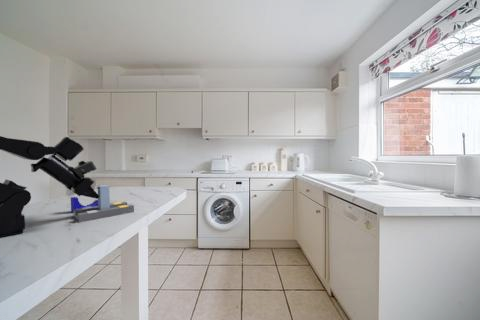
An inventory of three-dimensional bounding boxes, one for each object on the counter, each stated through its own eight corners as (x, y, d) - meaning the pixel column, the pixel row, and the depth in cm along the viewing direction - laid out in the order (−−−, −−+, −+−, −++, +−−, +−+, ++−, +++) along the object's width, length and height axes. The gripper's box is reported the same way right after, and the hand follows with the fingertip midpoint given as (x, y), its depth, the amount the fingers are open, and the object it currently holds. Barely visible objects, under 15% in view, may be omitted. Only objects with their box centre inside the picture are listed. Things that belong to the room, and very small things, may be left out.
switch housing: (79, 222, 75) (79, 214, 75) (73, 216, 82) (73, 209, 82) (134, 211, 88) (133, 205, 88) (125, 207, 95) (125, 201, 95)
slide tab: (100, 212, 83) (100, 186, 82) (98, 210, 85) (97, 185, 85) (109, 210, 85) (109, 186, 84) (107, 209, 87) (106, 185, 87)
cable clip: (102, 205, 99) (101, 192, 99) (106, 207, 96) (106, 193, 96) (69, 211, 89) (69, 197, 89) (73, 213, 87) (73, 198, 86)
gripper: (85, 154, 72) (122, 183, 81) (74, 153, 85) (107, 179, 94) (55, 180, 67) (98, 209, 76) (48, 175, 80) (85, 200, 89)
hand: (98, 197), depth 84 cm, fingers closed, pressing on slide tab
